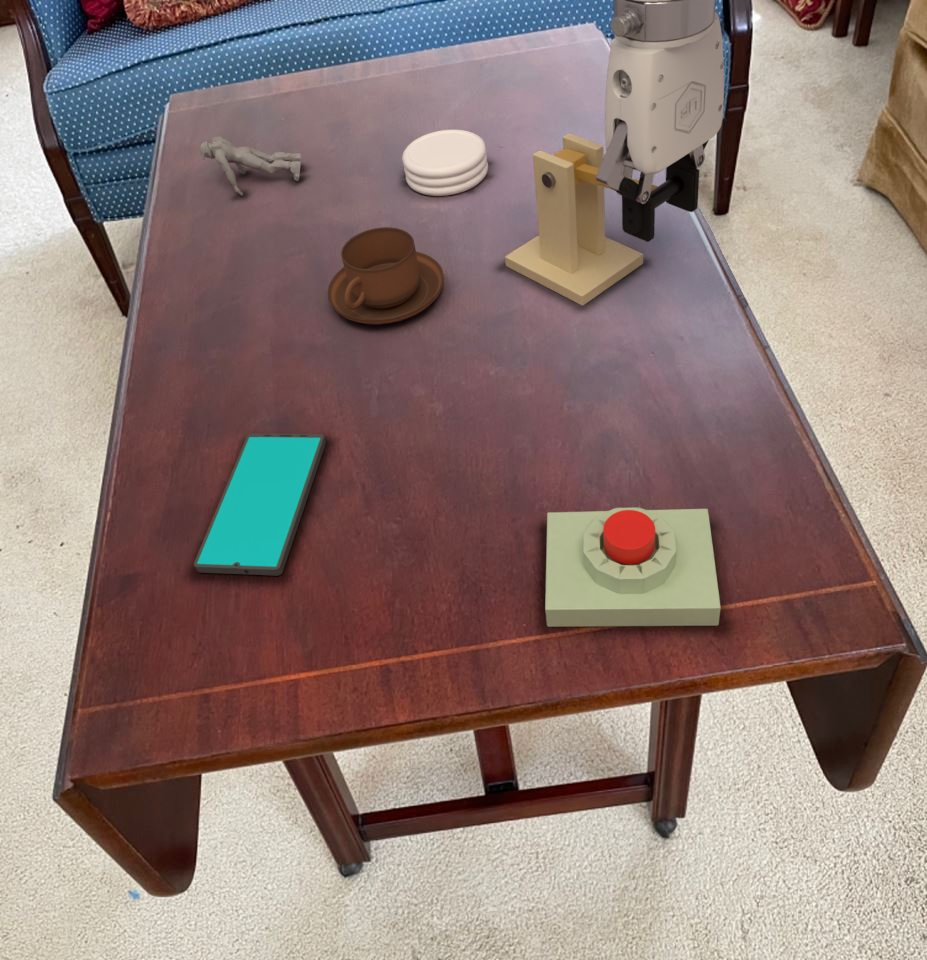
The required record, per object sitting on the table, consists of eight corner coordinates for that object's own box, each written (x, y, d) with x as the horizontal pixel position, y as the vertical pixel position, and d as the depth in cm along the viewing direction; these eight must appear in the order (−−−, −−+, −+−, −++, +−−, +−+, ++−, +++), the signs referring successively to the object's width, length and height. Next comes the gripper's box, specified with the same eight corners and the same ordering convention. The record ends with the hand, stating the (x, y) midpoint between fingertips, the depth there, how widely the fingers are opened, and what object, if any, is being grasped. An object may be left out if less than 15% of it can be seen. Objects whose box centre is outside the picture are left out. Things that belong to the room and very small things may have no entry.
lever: (684, 197, 84) (684, 172, 82) (647, 222, 82) (646, 197, 80) (577, 164, 92) (575, 141, 90) (541, 187, 90) (538, 163, 88)
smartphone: (324, 433, 83) (278, 569, 73) (327, 440, 84) (281, 576, 74) (246, 433, 84) (191, 566, 74) (249, 439, 85) (194, 572, 75)
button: (653, 524, 68) (653, 508, 67) (656, 564, 66) (657, 548, 64) (603, 525, 68) (602, 510, 67) (604, 565, 66) (603, 549, 65)
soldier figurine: (297, 180, 121) (201, 164, 118) (301, 142, 118) (203, 124, 115) (296, 206, 117) (196, 190, 114) (300, 166, 113) (198, 149, 110)
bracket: (643, 263, 96) (645, 146, 86) (582, 306, 92) (577, 188, 83) (565, 227, 102) (559, 114, 93) (505, 266, 99) (493, 152, 89)
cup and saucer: (432, 337, 92) (422, 285, 87) (317, 333, 95) (302, 283, 90) (457, 265, 100) (449, 214, 95) (350, 264, 102) (337, 214, 98)
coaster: (420, 153, 117) (416, 127, 115) (497, 155, 115) (494, 128, 112) (395, 196, 111) (390, 169, 108) (476, 199, 108) (472, 171, 106)
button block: (706, 527, 72) (709, 492, 69) (718, 625, 66) (722, 592, 63) (548, 530, 74) (545, 496, 71) (547, 627, 67) (543, 594, 65)
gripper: (625, 62, 65) (628, 280, 79) (774, -22, 72) (754, 192, 85) (548, 40, 70) (563, 250, 83) (696, -38, 76) (688, 168, 89)
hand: (660, 219), depth 84 cm, fingers closed on lever, 5 cm apart
